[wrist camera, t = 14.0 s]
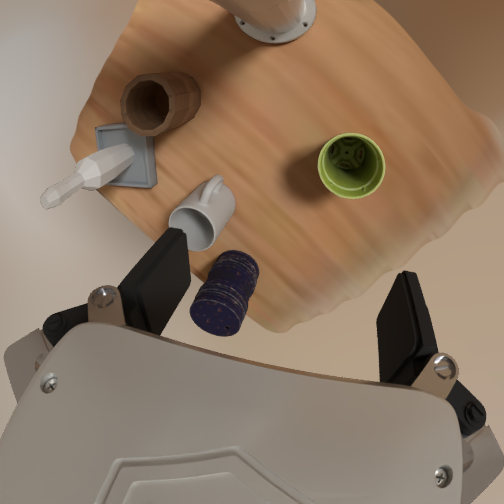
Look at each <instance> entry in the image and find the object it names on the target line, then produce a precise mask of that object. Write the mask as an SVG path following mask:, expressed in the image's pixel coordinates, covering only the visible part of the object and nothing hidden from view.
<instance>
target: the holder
mask: <svg viewBox="0 0 504 504" xmlns="http://www.w3.org/2000/svg"><path fill="white" fill-rule="evenodd" d="M160 85H162V86H163V88H164V89H165V91H166V93H167V95H168V96H169V112H168V114H167V116H166V117H164V116H162V115H161V114H160V112H159V110H158V109H157V107H156V96H155V95H156V93H157V90H158V88H159V86H160ZM199 107H200V89H199V87H198V86H197V84H196V82H195V80H194V79H193V78H192V77H190V76H188V75H186V74H184V73H182V72H168V73H152V74H145V75H139V76H137V77H136V78H135V79H133V80H132V81H131V82H130V83H129V84H128V85H127V86H126V88H125V90H124V93H123V96H122V98H121V114H122V117H123V119H124V121H125V123H126V124H127V126H128V128H129V129H130V130H131V131H133V132H135V133H136V134H138V135H140V136H157V135H159V134H161V133H164V132H166V131H168V130H171V129H173V128H176V127H178V126H181V125H183V124H184V123H186V122H188V121H189V120H191V119H193V118H194V116H195V114H196V112H197V111H198V109H199Z"/></svg>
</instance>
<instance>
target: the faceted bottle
mask: <svg viewBox="0 0 504 504" xmlns="http://www.w3.org/2000/svg"><path fill="white" fill-rule="evenodd" d="M134 156H135V154H134V151H133V148H132V146H130V145H128V144H126V143H124V144H120V145H116V146H112V147H109V148H105V149H102V150H100V151H98V152H95V153H93V154H91V155H89V156H87V157H85V158H84V159H82V160H80V161H78V163H77V166H76V169H75V172H74V174H73V175H72V176H70V177H68V178H66V179H65V180H63V181H61V182H59V183H57V184H55V185H53V186H51V187H49V188H47V189H46V191H45V192H44V193H43V194H42V196H41V197H40V202H41V205H42V207H43V208H45V209H50V208H53V207H56V206H58V205H60V204H61V203H62V202H64V201H65V200H66V199H67V198H68V197H69V196H71V195H72V194H73V193H75V192H76V191H78V190H79V189H81V188H82V189H86V190H90V191H93V190H95V189H98V188H100V187H102V186H103V185H105V184H106V183H108V182H110V181H111V180H113V179H114V178H115V177H117V176H118V175H119V174H120V173H121V172H122V171H123V170H125V169H126V168H127V167H128V166H129V165H131V164H132V163H133V161H134Z"/></svg>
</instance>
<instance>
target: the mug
mask: <svg viewBox="0 0 504 504" xmlns="http://www.w3.org/2000/svg"><path fill="white" fill-rule="evenodd" d="M223 180H224V179H223V176H221V175H215V176H214V177H212V178H211V179H210V181H207V182H204V183H202V184H200V185H199V186H198V187H197V188H196V189H195V190H194V191H193V192H192V193H191V194H190V195H189V196H188V197H187V198H186V199H185V200H184V201H183V202H182V203H181V204H179V205H178V206H177V207H176V208H175V209H174V210H173V212H172V213H171V215H170V217H169V223H168V224H169V227H173V228H179V229H182V230H183V232H184V233H186V235H187V245H188V250H191V251H204V250H206V249H208V248H210V247H211V246H212V245H213V243H214V242H215V241H216V239H217V237H218V236H219V234H220V233H221V231H222V230H223V228H224V227H225V225H226V223H227V222H228V220H229V219H230V218H231V216H232V215H233V213H234V211H235V207H236V202H235V197H234V195H233V193H232V191H231V190H230V189H229V188H228V187H227V186H226V185H224V184H222V183H223Z"/></svg>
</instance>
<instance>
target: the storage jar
mask: <svg viewBox="0 0 504 504" xmlns="http://www.w3.org/2000/svg"><path fill="white" fill-rule="evenodd" d="M258 276H259V267H258V265H257V263H256V261H255V260H254V259H253V258H252V257H251V256H249V255H248V254H246V253H244V252H241V251H237V250H229V251H226V252H223V253H222V254H221V255H220V256H219V257H218V259H217V261H216V262H215V263H214V265H213V266H212V268H211V269H210V271H209V274H208V279H207V280H206V282H205V283H204V284H203V285H202V286H201V287H200V289H199V291H198V293H197V295H196V296H195V300H194V302H193V303H192V305H191V307H190V316H191V318H192V320H193V321H194V323H195V324H196V325H197V326H198V327H200V328H201V329H202V330H204V331H206V332H208V333H210V334H213V335H216V336H225V337H226V336H232V335H234V334H236V333H237V332H238V331H239V329H240V327H241V324H242V321H243V320H244V317H245V315H246V312H247V309H248V301H249V298H250V297H251V296H252V294H253V292H254V289H255V286H256V283H257V279H258Z"/></svg>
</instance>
